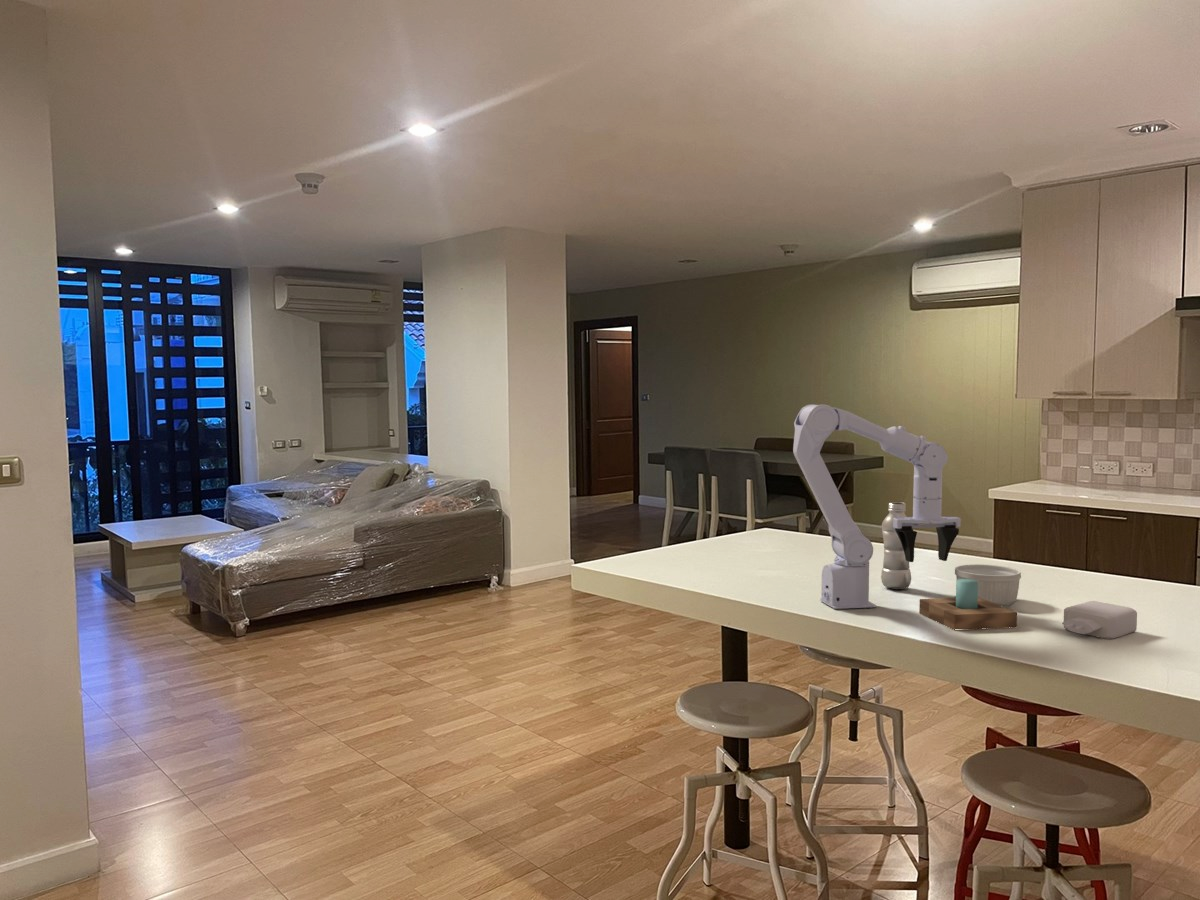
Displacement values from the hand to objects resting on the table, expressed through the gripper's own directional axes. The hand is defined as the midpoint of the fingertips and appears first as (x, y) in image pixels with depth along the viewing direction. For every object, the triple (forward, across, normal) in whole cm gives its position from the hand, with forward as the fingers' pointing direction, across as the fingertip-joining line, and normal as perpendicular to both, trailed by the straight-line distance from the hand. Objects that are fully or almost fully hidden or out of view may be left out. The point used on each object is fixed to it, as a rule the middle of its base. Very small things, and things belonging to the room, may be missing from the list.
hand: (926, 560), depth 183 cm
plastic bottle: (+10, +1, +15) cm, 18 cm away
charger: (+10, +19, -26) cm, 34 cm away
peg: (+9, +1, -14) cm, 17 cm away
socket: (+9, +1, -14) cm, 17 cm away
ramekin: (+10, +15, +1) cm, 18 cm away
